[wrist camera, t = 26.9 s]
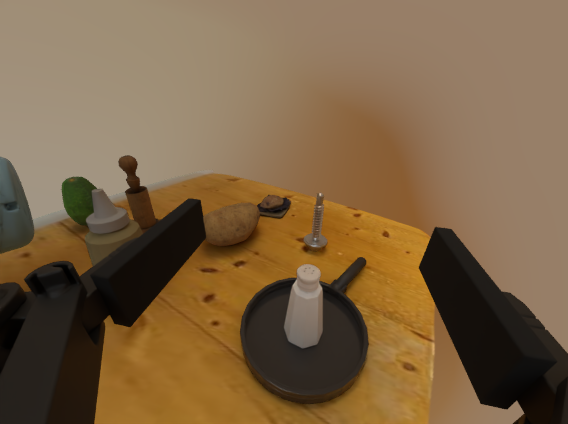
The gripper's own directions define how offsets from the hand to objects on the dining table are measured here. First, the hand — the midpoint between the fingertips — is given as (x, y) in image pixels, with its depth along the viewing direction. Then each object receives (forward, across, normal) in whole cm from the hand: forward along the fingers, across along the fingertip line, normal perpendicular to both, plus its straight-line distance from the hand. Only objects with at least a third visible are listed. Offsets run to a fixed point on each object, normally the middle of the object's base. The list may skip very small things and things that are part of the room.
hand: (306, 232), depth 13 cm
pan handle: (+21, +7, -22) cm, 31 cm away
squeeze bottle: (+11, -28, -24) cm, 38 cm away
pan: (+10, 0, -23) cm, 25 cm away
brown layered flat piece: (+45, -12, -24) cm, 52 cm away
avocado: (+27, -52, -24) cm, 64 cm away
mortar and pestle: (+26, -37, -24) cm, 51 cm away
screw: (+29, 0, -23) cm, 37 cm away
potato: (+28, -18, -24) cm, 41 cm away
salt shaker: (+10, 0, -23) cm, 25 cm away
